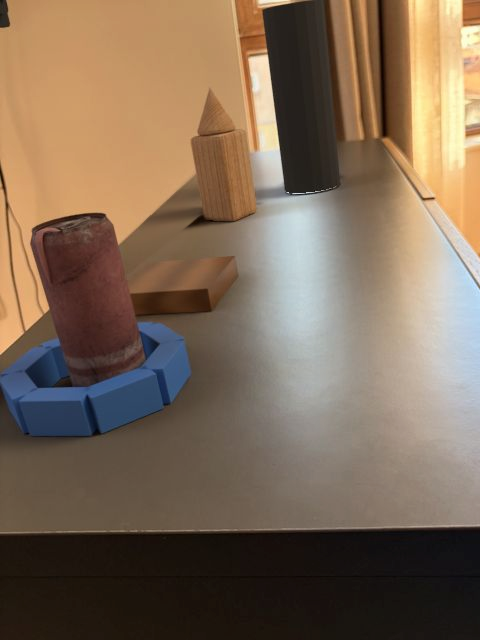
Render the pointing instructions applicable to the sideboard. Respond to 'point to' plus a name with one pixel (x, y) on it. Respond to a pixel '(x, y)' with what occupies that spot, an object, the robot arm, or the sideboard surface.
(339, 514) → the sideboard surface
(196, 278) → the platform
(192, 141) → the decorative item
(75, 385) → the can
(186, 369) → the ring
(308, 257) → the sideboard surface
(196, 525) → the sideboard surface
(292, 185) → the vase
